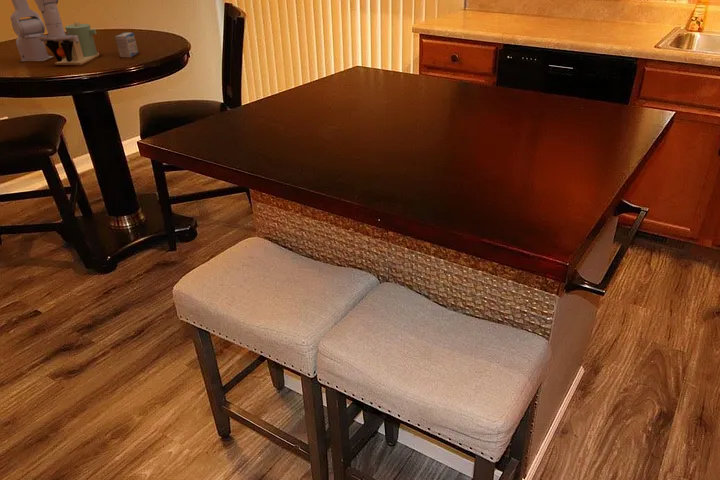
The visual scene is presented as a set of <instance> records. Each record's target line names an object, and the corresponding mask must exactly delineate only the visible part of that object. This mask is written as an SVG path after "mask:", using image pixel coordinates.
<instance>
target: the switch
mask: <svg viewBox="0 0 720 480" xmlns="http://www.w3.org/2000/svg"><path fill="white" fill-rule="evenodd" d="M57 54H58V55H59V56H61V57H62V58H65V56H66V55H65V52H64V50H63V48H62V46H59V48H58V49H57Z"/></svg>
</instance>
